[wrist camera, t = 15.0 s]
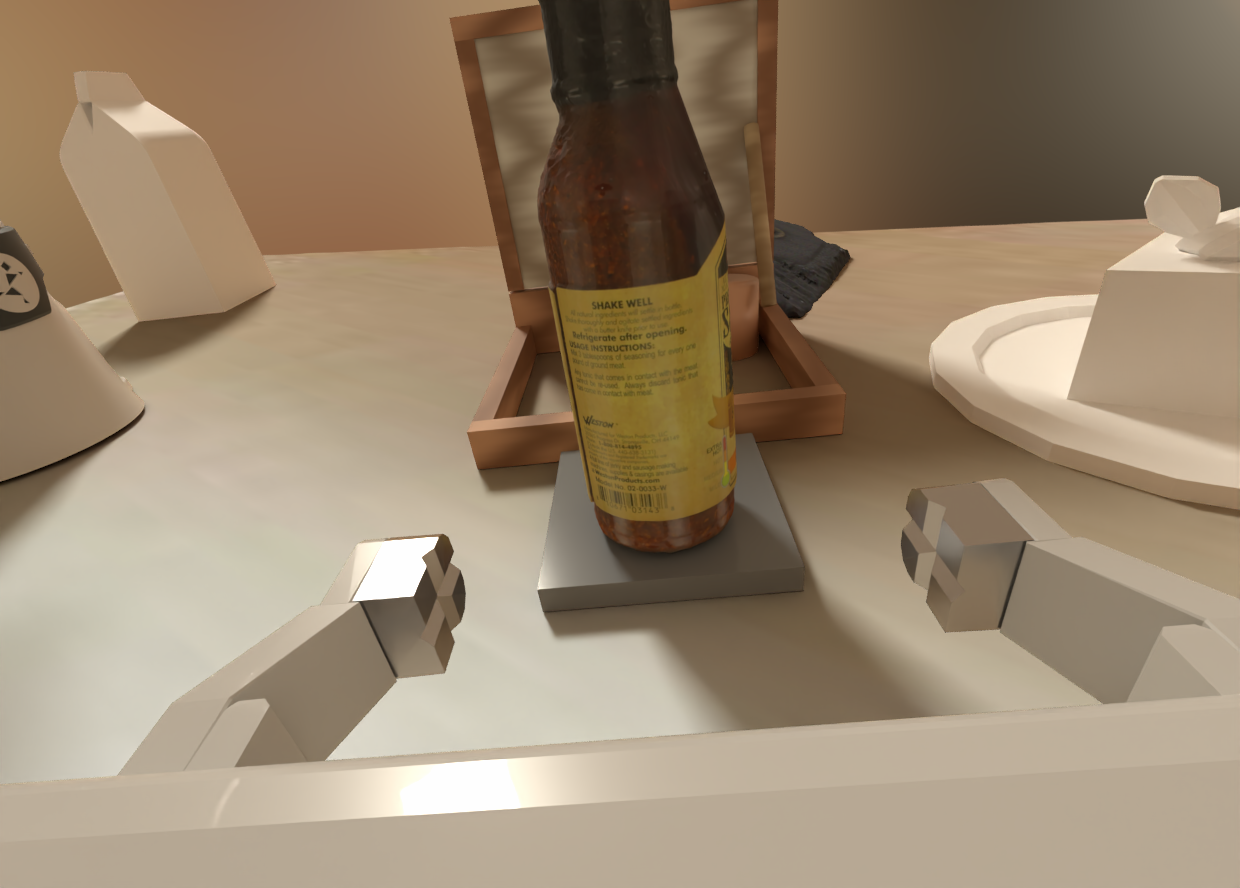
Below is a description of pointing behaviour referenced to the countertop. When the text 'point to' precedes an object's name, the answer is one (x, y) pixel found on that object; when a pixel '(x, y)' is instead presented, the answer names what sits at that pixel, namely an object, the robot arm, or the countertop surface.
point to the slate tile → (617, 575)
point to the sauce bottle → (637, 278)
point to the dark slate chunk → (803, 267)
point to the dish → (1121, 360)
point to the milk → (158, 204)
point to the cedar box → (738, 165)
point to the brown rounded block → (743, 315)
